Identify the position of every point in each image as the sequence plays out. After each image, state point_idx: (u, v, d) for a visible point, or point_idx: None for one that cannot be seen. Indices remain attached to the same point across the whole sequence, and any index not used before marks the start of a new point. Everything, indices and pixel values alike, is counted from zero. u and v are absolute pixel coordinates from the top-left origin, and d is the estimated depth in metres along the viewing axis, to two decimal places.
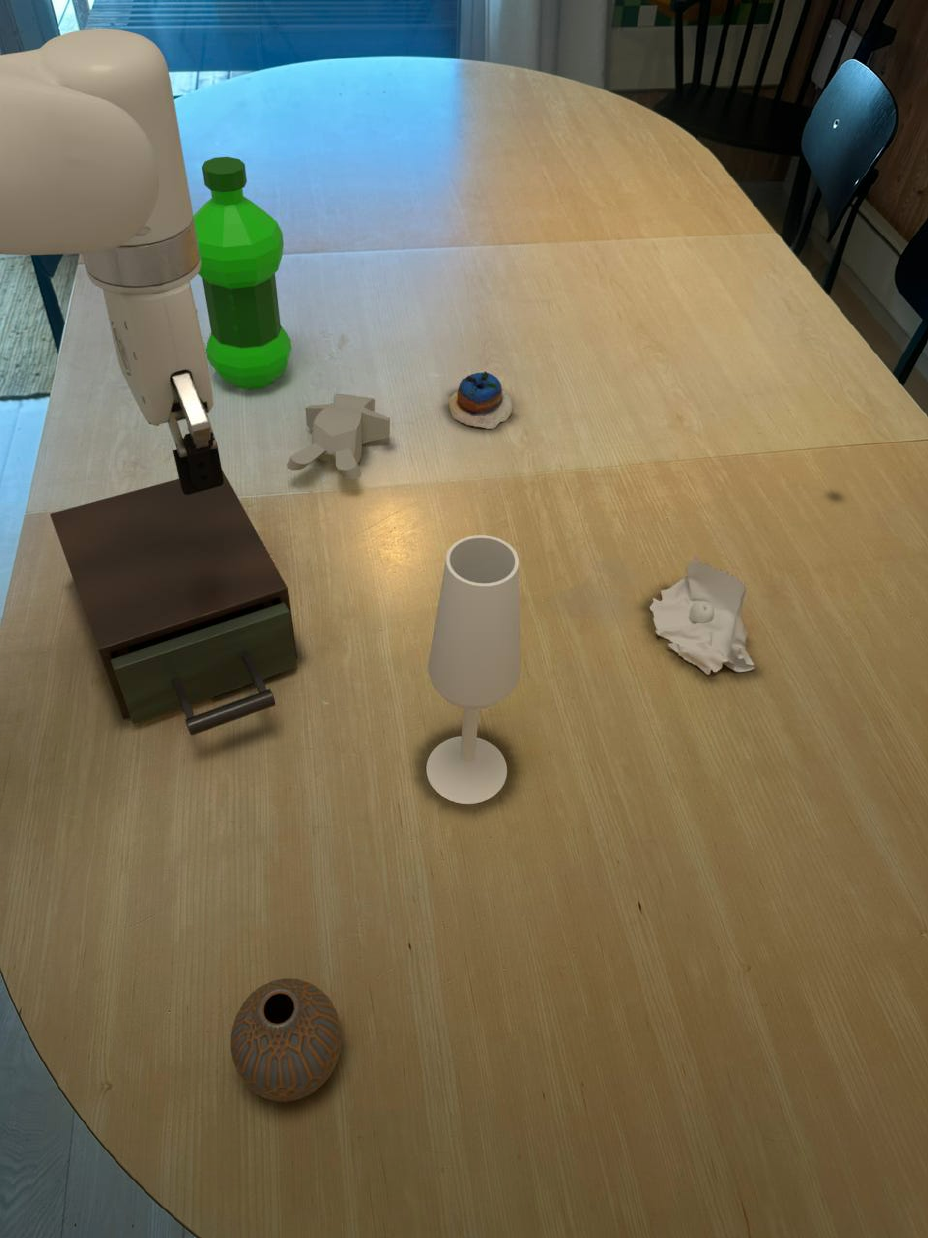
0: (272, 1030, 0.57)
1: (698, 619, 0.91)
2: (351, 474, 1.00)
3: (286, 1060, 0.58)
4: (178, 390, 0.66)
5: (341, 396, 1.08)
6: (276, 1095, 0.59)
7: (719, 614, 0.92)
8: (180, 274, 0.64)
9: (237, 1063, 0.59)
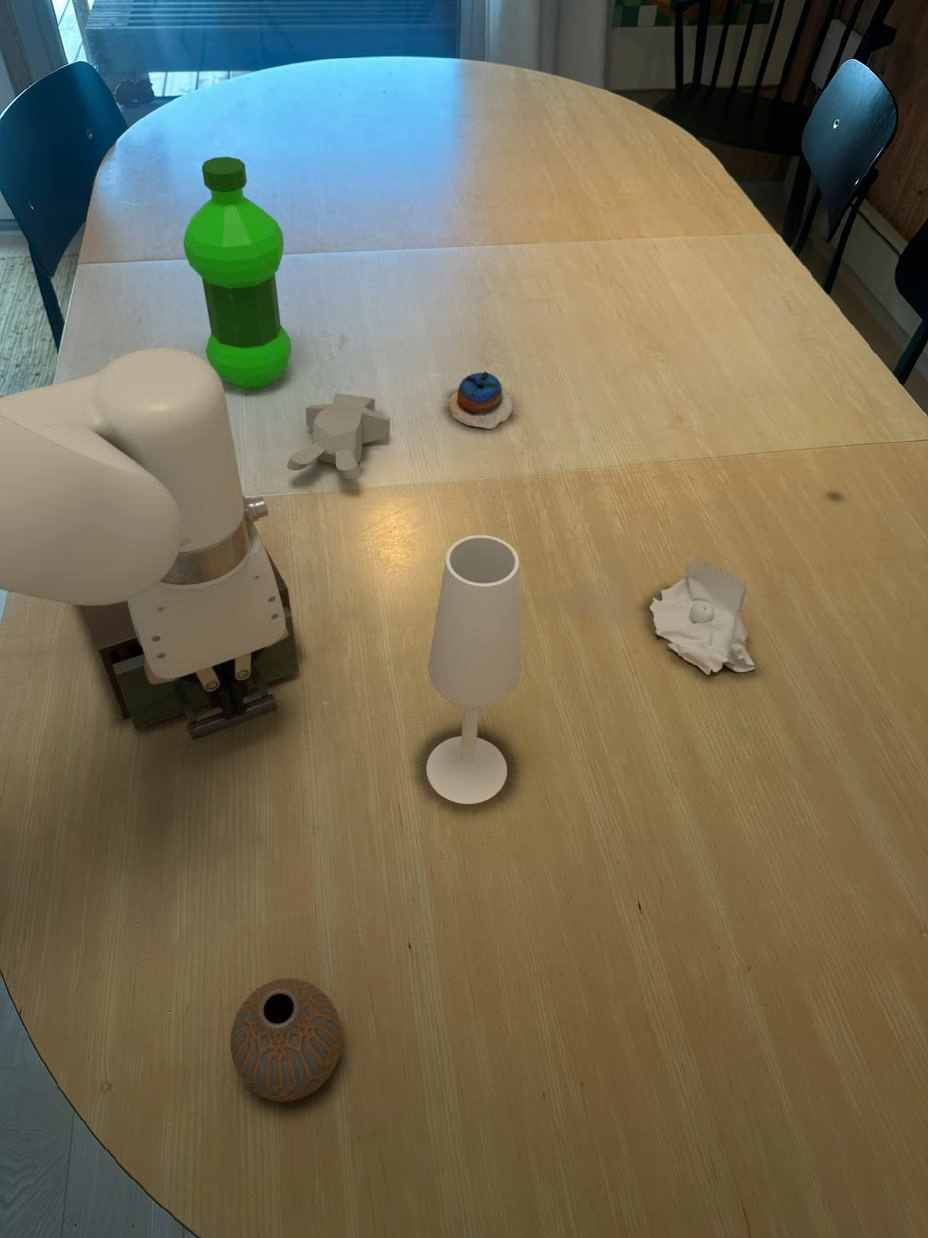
0: (272, 1030, 0.57)
1: (698, 619, 0.91)
2: (351, 474, 1.00)
3: (286, 1060, 0.58)
4: None
5: (341, 396, 1.08)
6: (276, 1095, 0.59)
7: (719, 614, 0.92)
8: None
9: (237, 1063, 0.59)
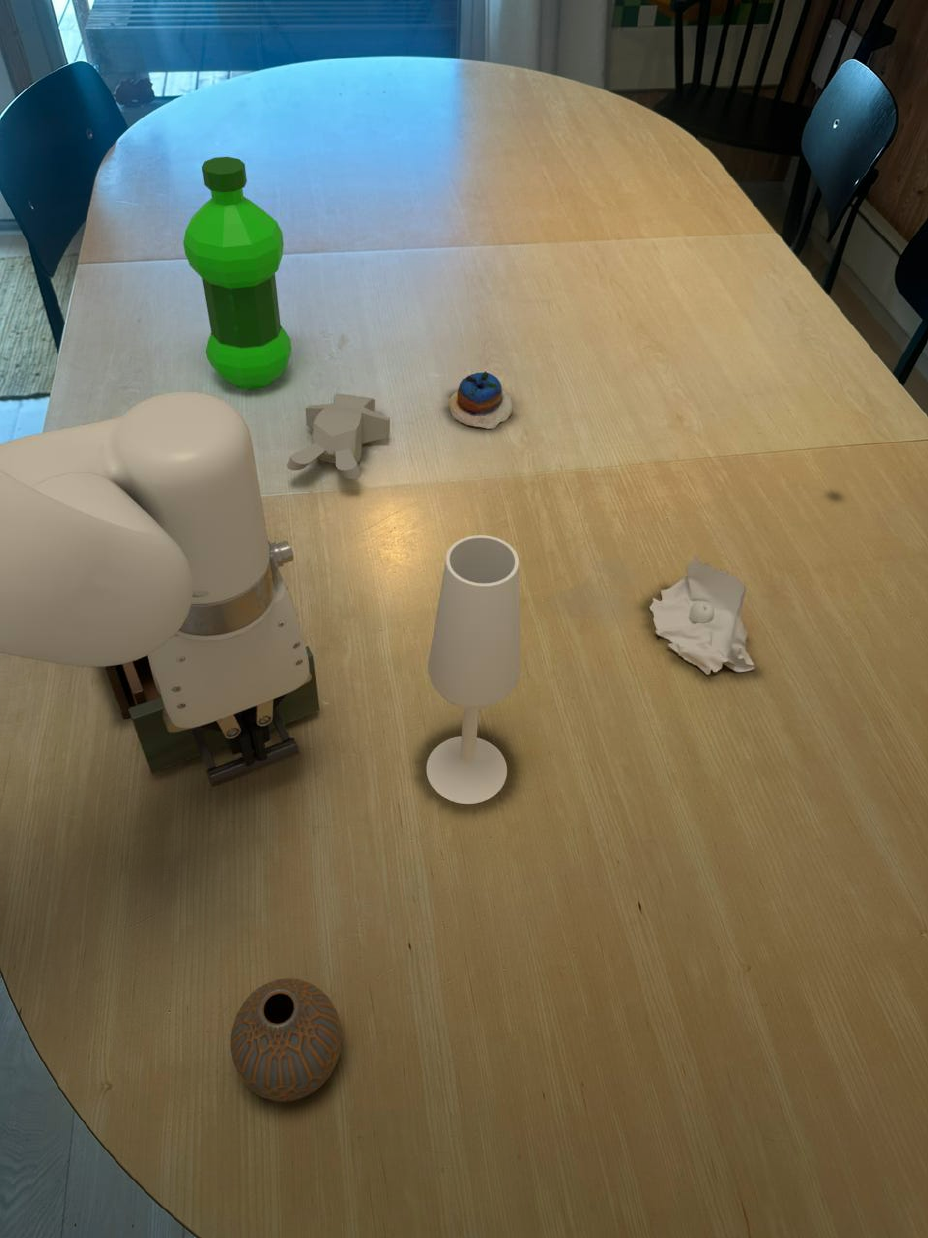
0: (272, 1030, 0.57)
1: (698, 619, 0.91)
2: (351, 474, 1.00)
3: (286, 1060, 0.58)
4: None
5: (341, 396, 1.08)
6: (276, 1095, 0.59)
7: (719, 614, 0.92)
8: None
9: (237, 1063, 0.59)
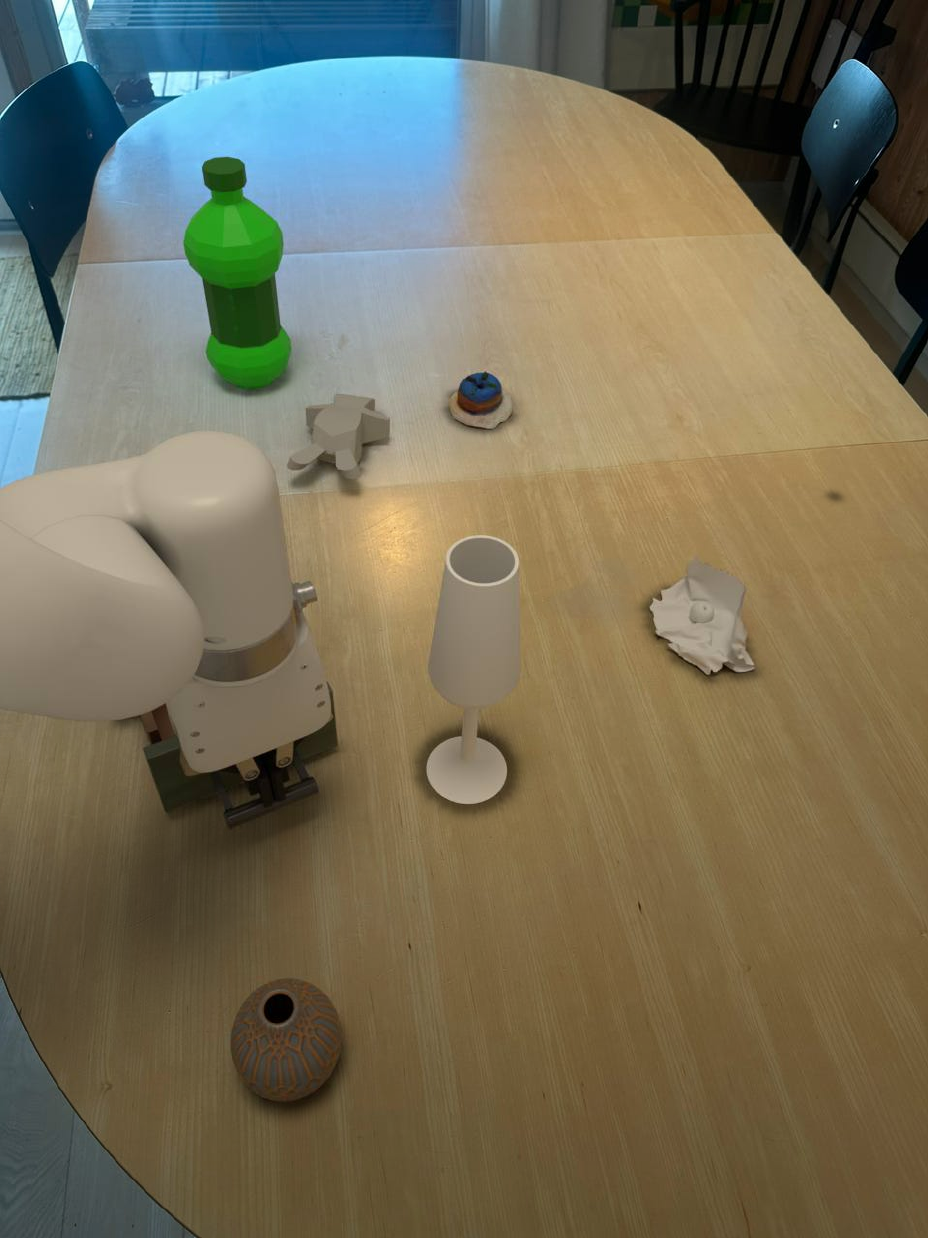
0: (272, 1030, 0.57)
1: (698, 619, 0.91)
2: (351, 474, 1.00)
3: (286, 1060, 0.58)
4: None
5: (341, 396, 1.08)
6: (276, 1095, 0.59)
7: (719, 614, 0.92)
8: None
9: (237, 1063, 0.59)
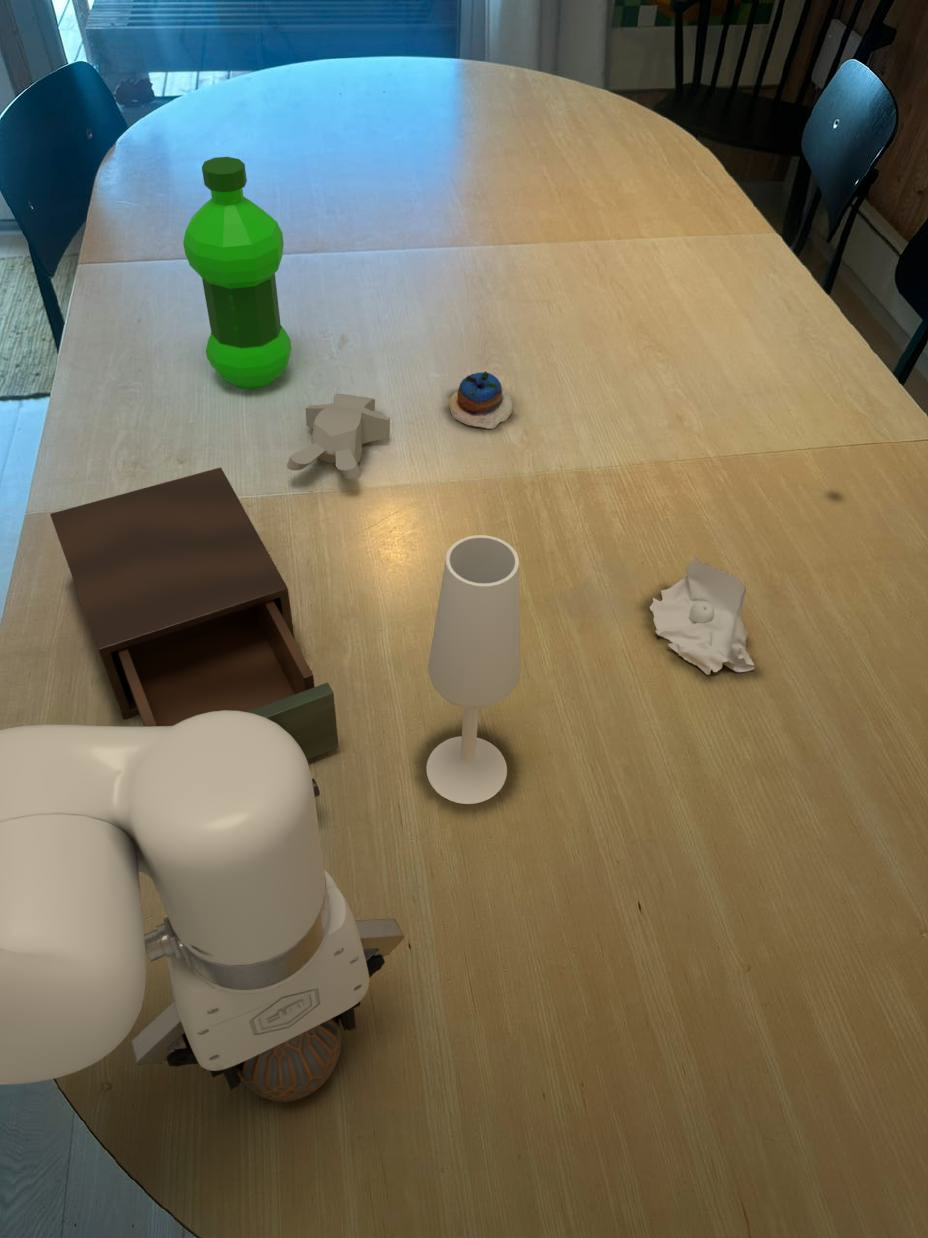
0: None
1: (698, 619, 0.91)
2: (351, 474, 1.00)
3: (286, 1060, 0.58)
4: (368, 937, 0.56)
5: (341, 396, 1.08)
6: (276, 1095, 0.59)
7: (719, 614, 0.92)
8: None
9: None
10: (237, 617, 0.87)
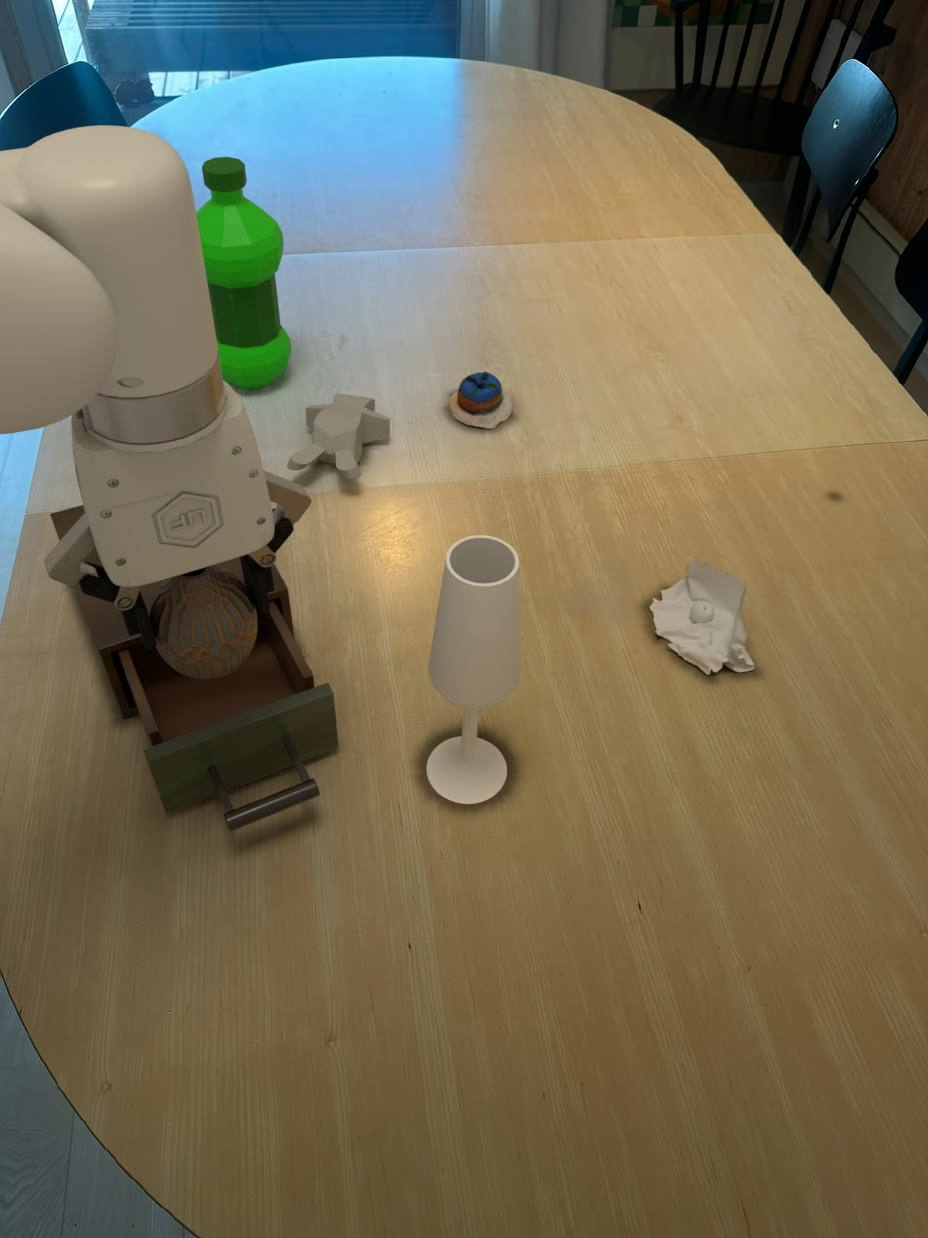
0: (184, 581, 0.60)
1: (698, 619, 0.91)
2: (351, 474, 1.00)
3: (198, 615, 0.61)
4: (273, 483, 0.59)
5: (341, 396, 1.08)
6: (190, 658, 0.62)
7: (719, 614, 0.92)
8: None
9: (153, 629, 0.62)
10: None
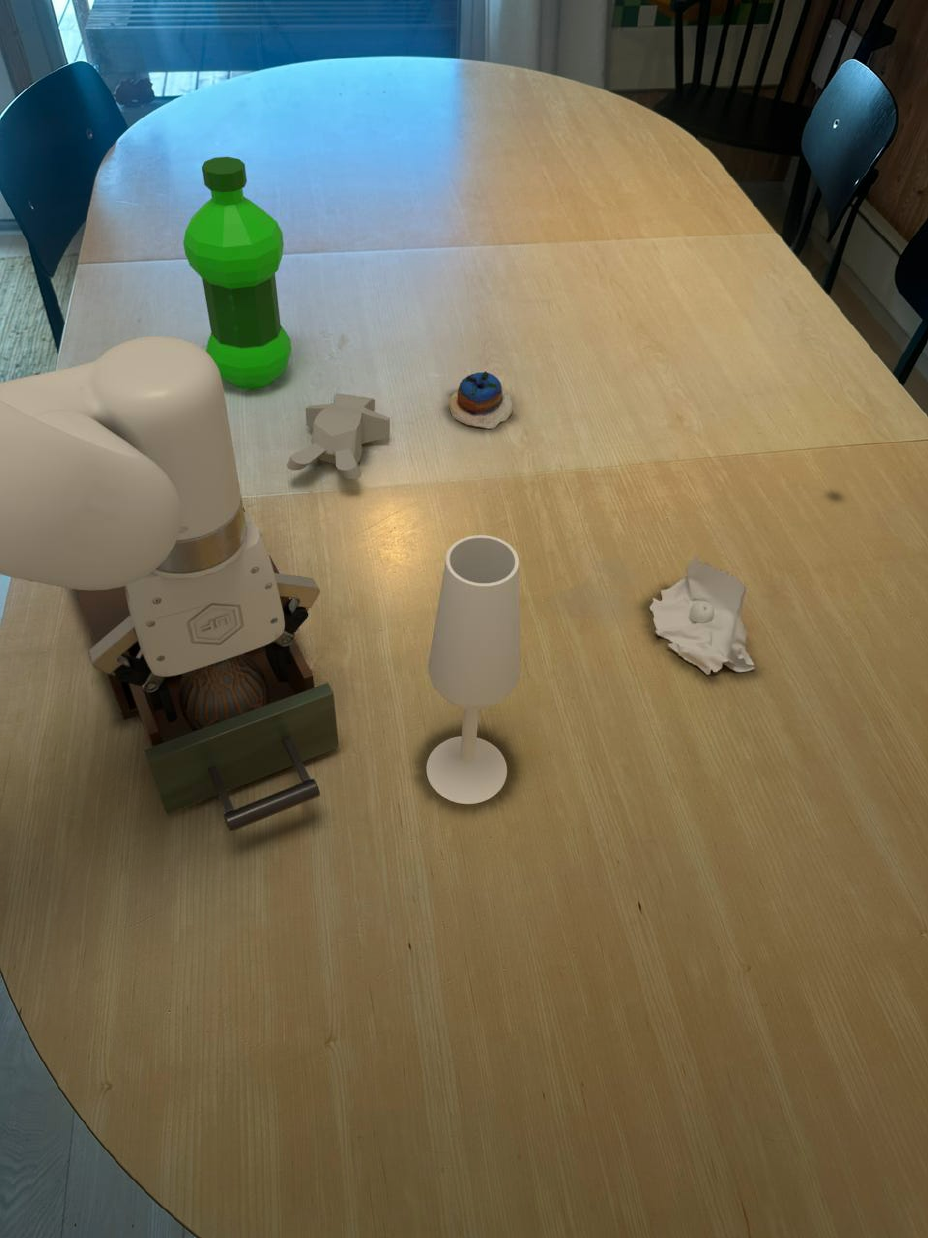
0: (209, 668, 0.73)
1: (698, 619, 0.91)
2: (351, 474, 1.00)
3: (220, 695, 0.73)
4: (285, 583, 0.71)
5: (341, 396, 1.08)
6: None
7: (719, 614, 0.92)
8: None
9: (183, 705, 0.75)
10: None
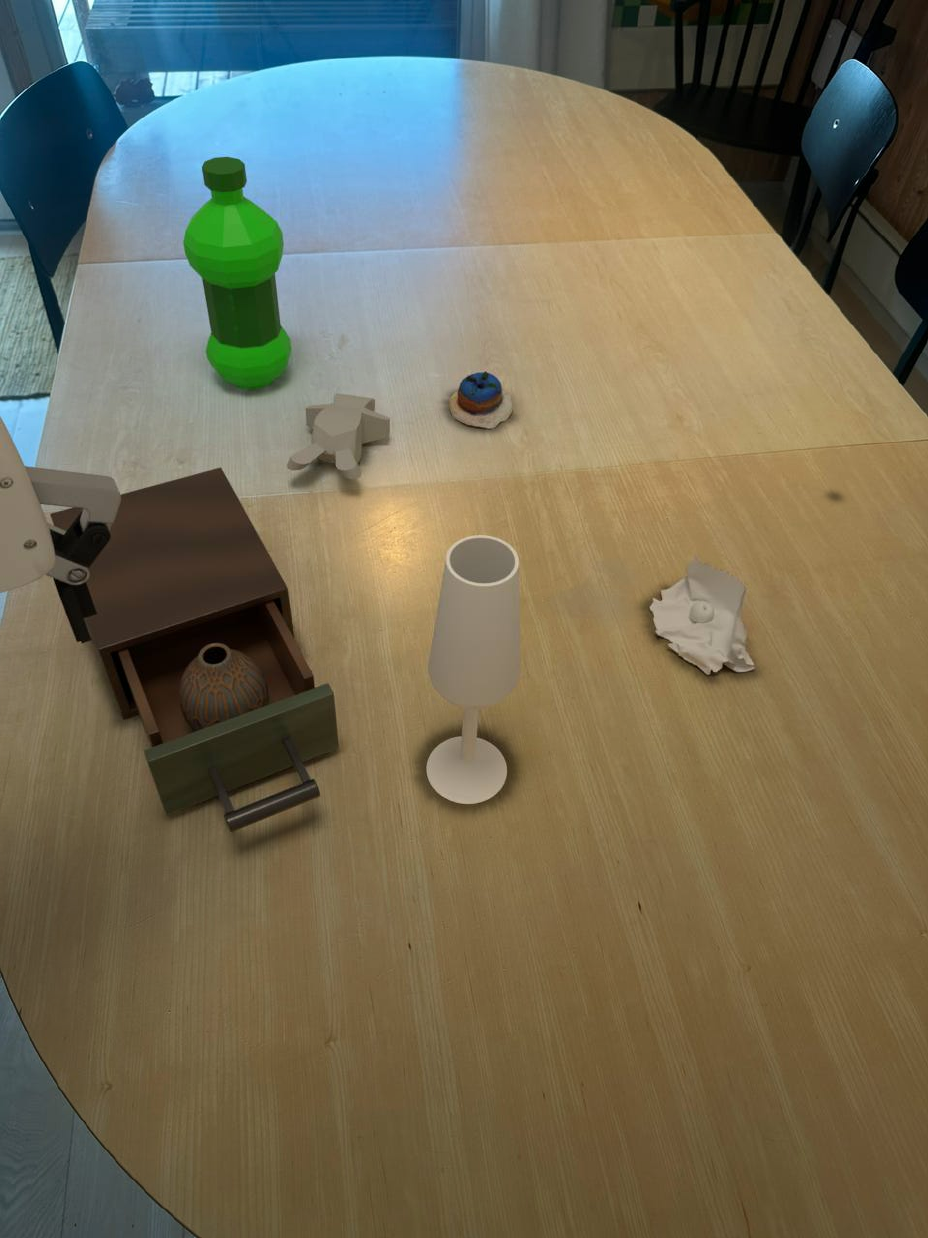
0: (209, 668, 0.73)
1: (698, 619, 0.91)
2: (351, 474, 1.00)
3: (220, 695, 0.73)
4: (54, 483, 0.44)
5: (341, 396, 1.08)
6: None
7: (719, 614, 0.92)
8: None
9: (183, 705, 0.75)
10: (237, 618, 0.87)
